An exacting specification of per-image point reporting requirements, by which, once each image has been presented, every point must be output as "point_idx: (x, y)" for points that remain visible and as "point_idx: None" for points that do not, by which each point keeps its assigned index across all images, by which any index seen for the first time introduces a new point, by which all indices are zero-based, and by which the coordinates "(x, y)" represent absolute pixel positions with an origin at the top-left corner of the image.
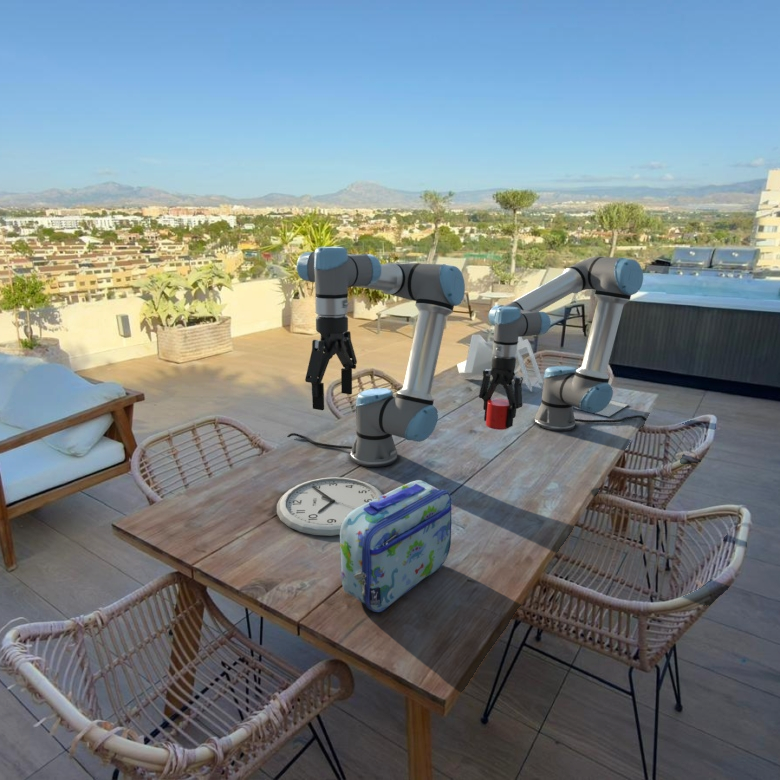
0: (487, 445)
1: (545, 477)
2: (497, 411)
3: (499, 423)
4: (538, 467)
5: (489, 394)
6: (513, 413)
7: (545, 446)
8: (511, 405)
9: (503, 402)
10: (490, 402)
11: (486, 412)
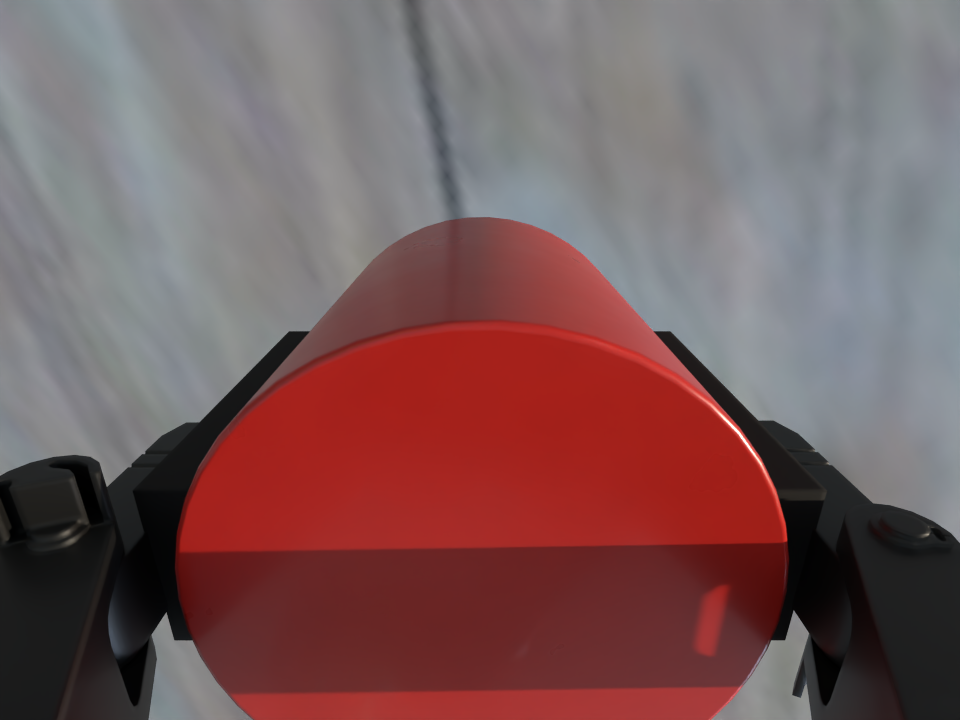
0: None
1: (16, 224)
2: (360, 305)
3: (362, 275)
4: (159, 328)
5: (891, 712)
6: (122, 477)
7: None
8: (29, 570)
9: (412, 654)
10: (653, 440)
11: None
